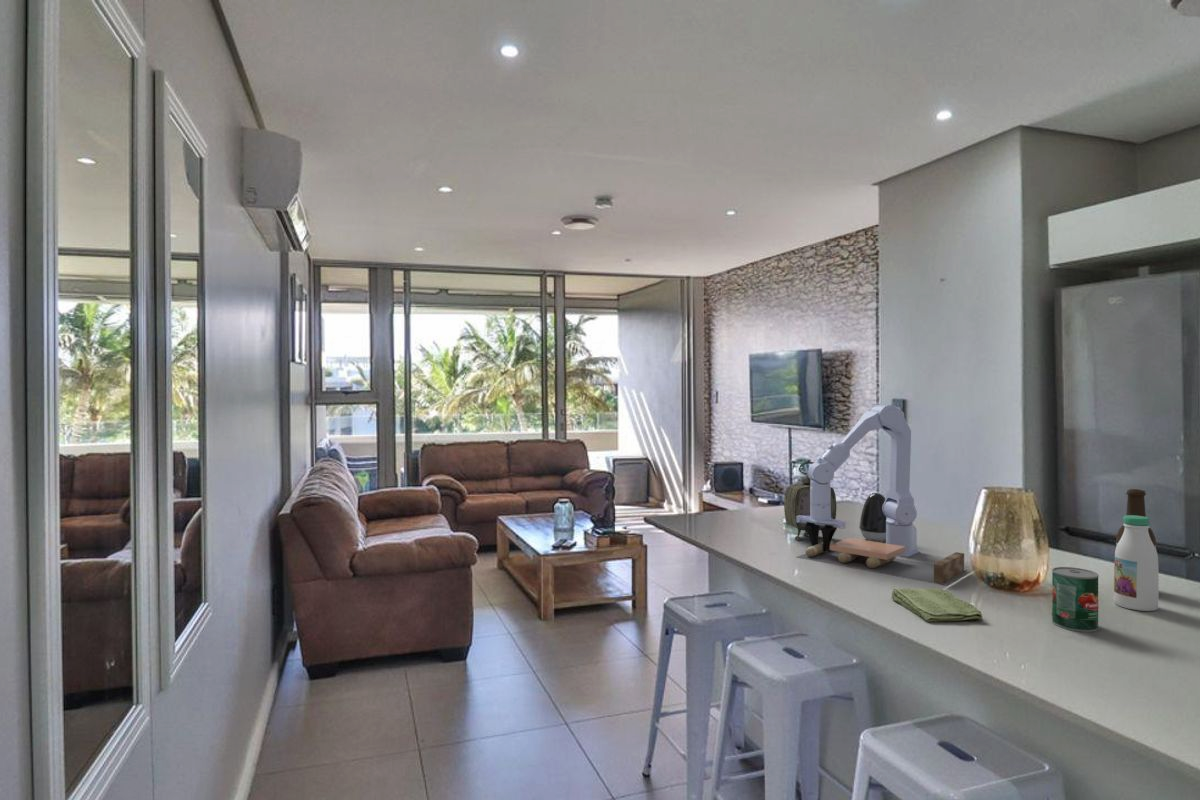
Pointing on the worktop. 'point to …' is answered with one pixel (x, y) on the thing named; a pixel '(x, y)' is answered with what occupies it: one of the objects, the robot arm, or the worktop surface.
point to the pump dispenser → (873, 518)
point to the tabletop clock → (802, 503)
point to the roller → (816, 550)
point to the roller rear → (847, 557)
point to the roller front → (877, 562)
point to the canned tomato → (1075, 599)
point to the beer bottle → (1135, 511)
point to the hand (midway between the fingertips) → (820, 549)
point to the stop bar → (948, 567)
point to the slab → (868, 548)
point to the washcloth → (935, 605)
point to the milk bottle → (1136, 567)
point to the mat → (884, 566)
